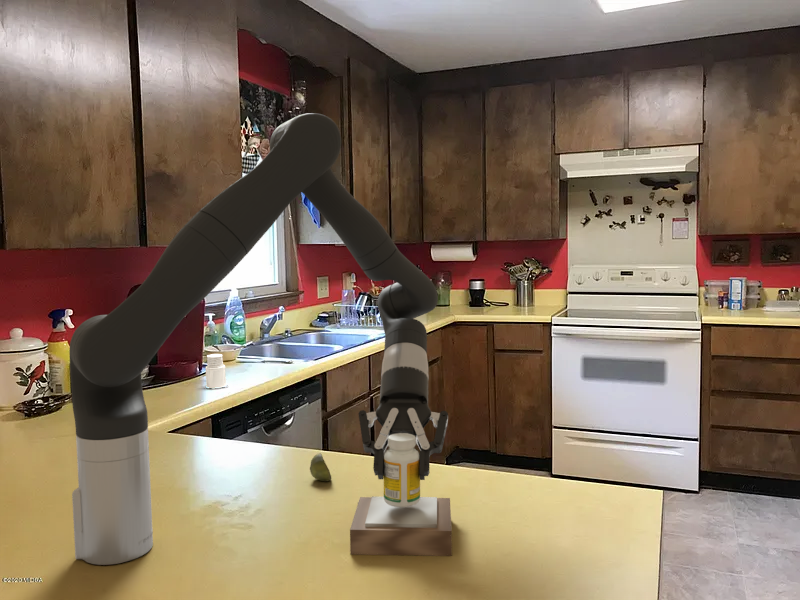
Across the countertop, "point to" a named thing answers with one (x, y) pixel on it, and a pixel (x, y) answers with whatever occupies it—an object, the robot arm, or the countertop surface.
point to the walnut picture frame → (402, 528)
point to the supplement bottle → (401, 471)
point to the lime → (319, 468)
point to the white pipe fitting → (215, 371)
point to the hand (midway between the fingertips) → (401, 477)
